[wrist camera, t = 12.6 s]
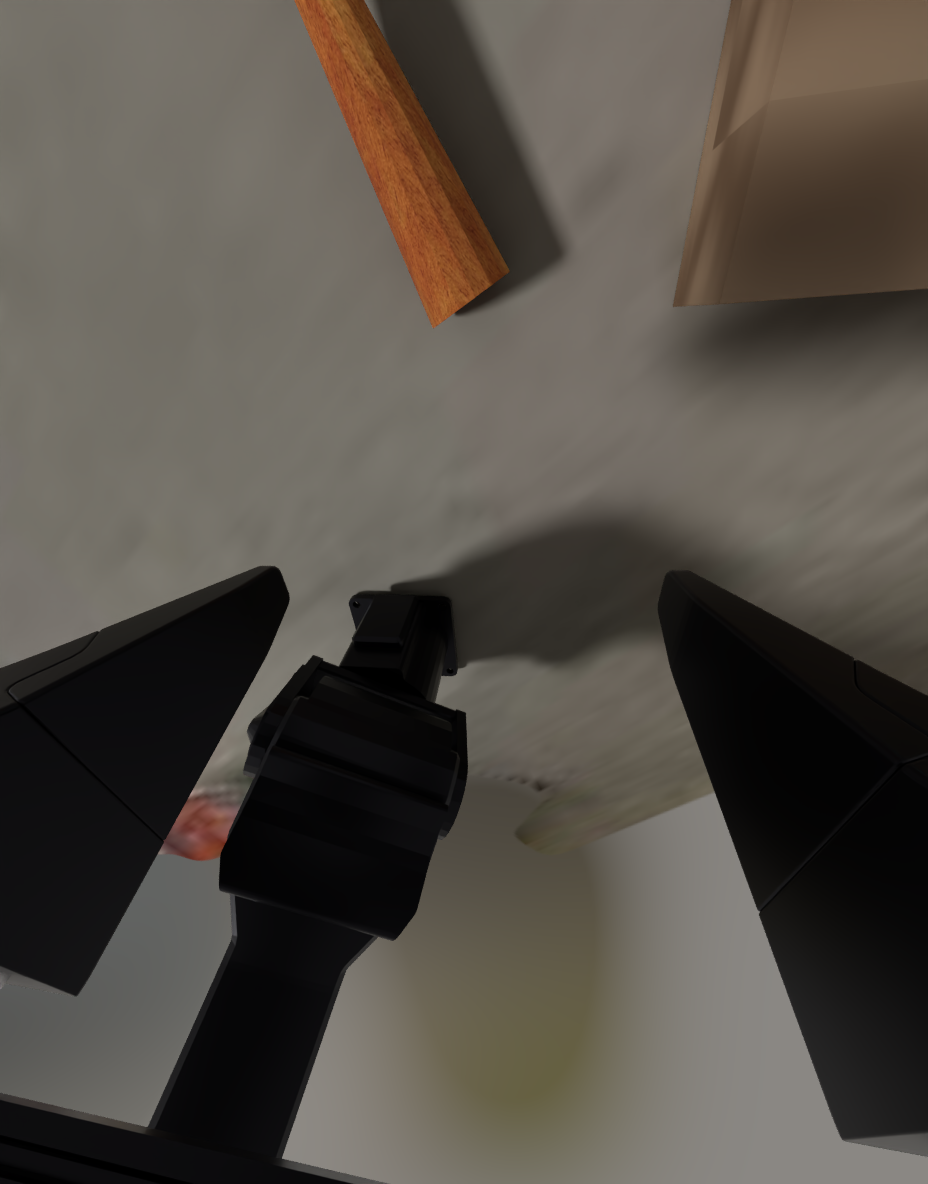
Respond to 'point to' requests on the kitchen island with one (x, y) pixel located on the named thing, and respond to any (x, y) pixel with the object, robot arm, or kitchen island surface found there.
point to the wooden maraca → (404, 160)
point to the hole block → (813, 155)
